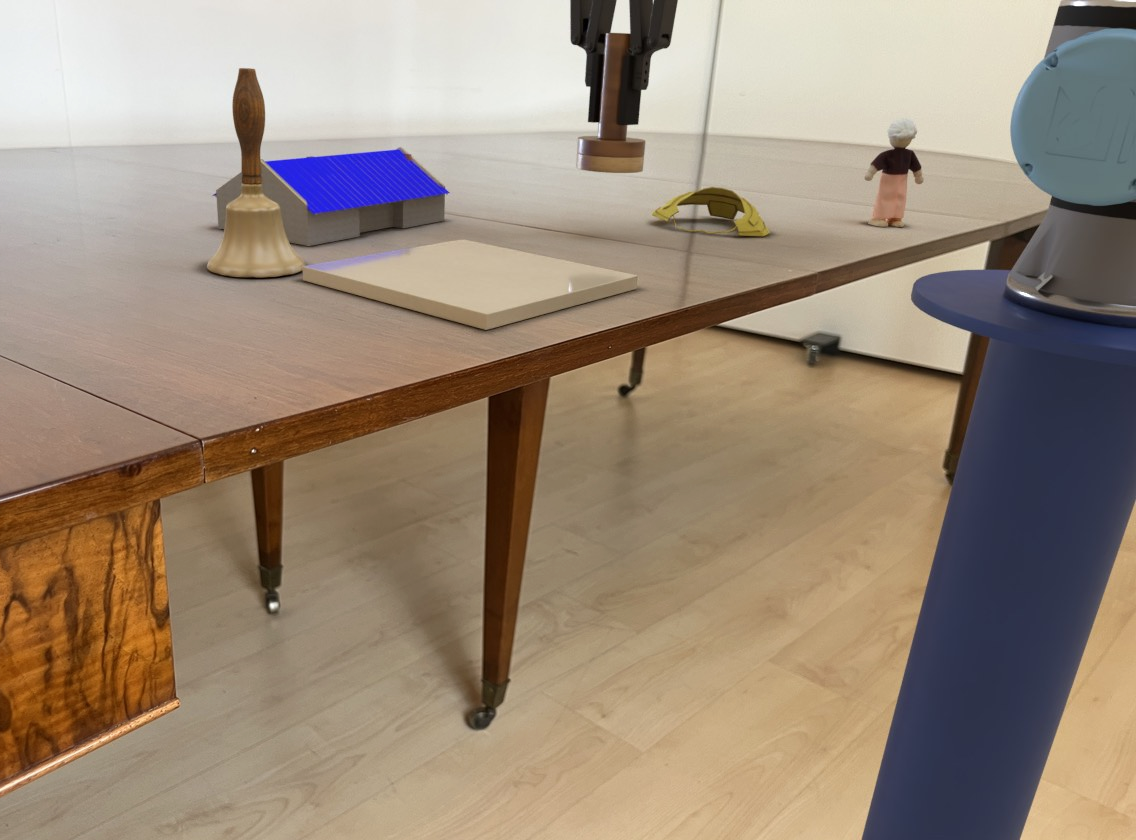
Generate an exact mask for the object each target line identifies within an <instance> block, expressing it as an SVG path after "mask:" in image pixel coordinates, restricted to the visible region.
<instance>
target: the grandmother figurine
mask: <svg viewBox="0 0 1136 840" xmlns="http://www.w3.org/2000/svg"><path fill="white" fill-rule="evenodd" d="M886 132H887V137H888V139H889V145H890V146H891V147H892V149H888V150H884V151H882V152H880V153H879V154H878V155H877V156H876V157H875V158H874V159H873V160H872V161H871V162H870V164H869V165H870V166H869V167H868V169H867V171H866V173H865V174H863V179H864V180H865V181H867V182H871V181H872V180H873V179H874V176H875V175H876V174H877V172H881V174H880V178H879V183H878V190H877V193H876V194H877V195H876V198H875V201H874V206H873V210H872V214H871V215H872V218H870V219H869V220H868V222H867V224H868V225H871V226H875V227H879V228H880V227H881V228H888V227H889V226H891V227H897V228H903V227H904V225H905V224H904V222H903V219H904V217H905V210H906V205H907V194H908V193H907V192H908V176H909V171H910V172H912V175H913V177H914V183H915V184H917V185H921V184H923V183H924V180H925V178H924V177H923V170H922V165H921V163H920V161H919V158H918V157H917V154H916V153H915V152H914V150H912V149H908V148H907V147H908V146H910V144H911V143H912V141H913V140H914V139H916V135H917V134H918V130H917V127H916V123H915V122H914V120H913V119H910V118H907V117H902V118H899V119H896V120H894V121H892V122H891V124H890V125H889V127H888V128H887V131H886Z"/></svg>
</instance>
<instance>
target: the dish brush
mask: <svg viewBox="0 0 1136 840" xmlns="http://www.w3.org/2000/svg"><path fill="white" fill-rule="evenodd" d="M629 48H631V40H630V32H629V33H628V32H627V33H626V32H610V33H605V41H604V54H603V67H602V81H601V94H600V108H599V121H598V122H597V134H596V135H584V136H578V137H577V147H576V160H575V168H576V169H578V170H581V171H587V172H595V173H606V174H607V173H609V174H637V173H641V172H643V171H644V163H645V152H646V140H645V139H642V138H637V137H636V138H635V137H627V136H628V135H627V134H628V125H618V115H619V103H620V90H621V78H622V66H623V55H632V54H629V53H628V52H627V49H629Z"/></svg>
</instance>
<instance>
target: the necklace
mask: <svg viewBox="0 0 1136 840" xmlns="http://www.w3.org/2000/svg"><path fill="white" fill-rule="evenodd" d="M690 205H693V206H706V207H707V211H708V214H709V216H710V217H716V218H721V219H727V220H731V221H733V223H734V225H735V226H734V227H733V228H732V229H730V230H720V231H711V232H710V231H706V230H704V229H696V230H695V229H694V230H692V229H685V228H680V227H679V226H677V224H676V218H675V215H676V214H678V213H679V212H680V210H679V208H678V207H681V206H690ZM738 212H740V213H741V214H742V213H743V214H744V215H743V217H741V218H739V219H737V220H735V218H736V216H737V215H738ZM651 216H653V217H655V218H658V219H660V220H661V221H662V220H663V221H665V222H670V220H671V218H672V217H673V224H674V226H675V228H676V229H678V230H680V231H685V232H691V233H699V232H700V233H701V232H702V233H704V234H705V233H706V234H708V235H713V234H714V235H715V234H726V233H727V234H729V233H731V232H733V231H734V230H736V229H737V233H738V234H737V235H738V236H743V237H762V238H763V237H765V236H767V235H768V236H769V235H770V234H771V232H770V230H769V229H768V226H767V225H766V224H765V221H764V220H763V219H762V218H761V215H760V213H759V212H758V210H757V208H756V207H755V206H754V205H753V204H751V203H750V202H749V201H748V200H747V199H746V198H744V197H741V196H740V195H738V193H736V192H735V191H733V190H731V189H728V188H724V187H716V186H711V187H704V188H702V189H699V190H694V191H688V192H686V193H682V194H680V195H677V196H675V197H673V198H672V199H670V200H669V201H667V202H666V204H665V205H662V206H660V207H658V208H657V209H655V210H653V211H652V213H651Z"/></svg>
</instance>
